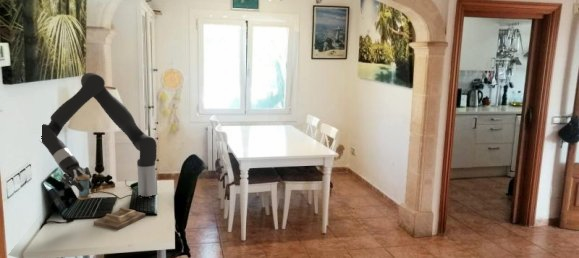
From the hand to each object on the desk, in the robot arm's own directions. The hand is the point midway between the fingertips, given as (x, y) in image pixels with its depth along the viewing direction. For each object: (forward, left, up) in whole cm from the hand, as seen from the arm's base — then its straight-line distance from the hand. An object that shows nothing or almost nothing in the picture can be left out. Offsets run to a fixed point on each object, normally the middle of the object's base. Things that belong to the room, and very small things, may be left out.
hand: (87, 189), depth 204 cm
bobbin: (0, -2, -4) cm, 5 cm away
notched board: (-8, +11, -16) cm, 21 cm away
